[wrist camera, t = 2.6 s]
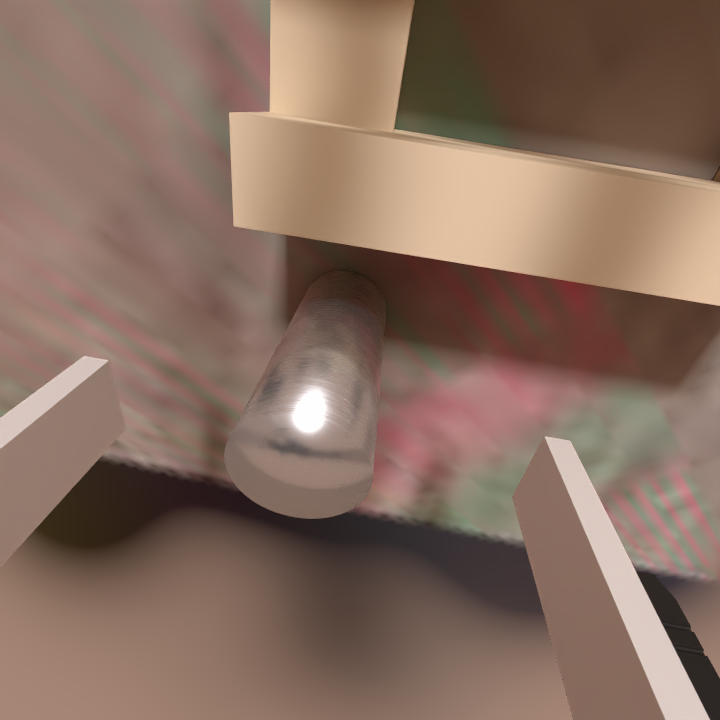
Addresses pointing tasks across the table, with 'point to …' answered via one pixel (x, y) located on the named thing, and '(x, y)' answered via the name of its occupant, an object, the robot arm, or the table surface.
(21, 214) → the table surface
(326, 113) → the slot block
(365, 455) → the pin
